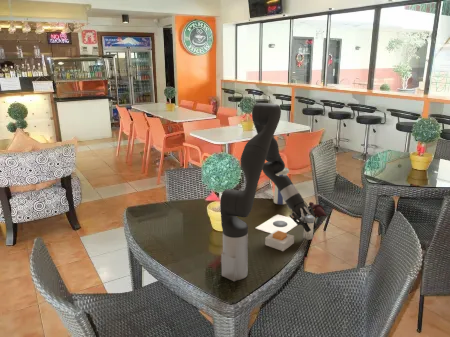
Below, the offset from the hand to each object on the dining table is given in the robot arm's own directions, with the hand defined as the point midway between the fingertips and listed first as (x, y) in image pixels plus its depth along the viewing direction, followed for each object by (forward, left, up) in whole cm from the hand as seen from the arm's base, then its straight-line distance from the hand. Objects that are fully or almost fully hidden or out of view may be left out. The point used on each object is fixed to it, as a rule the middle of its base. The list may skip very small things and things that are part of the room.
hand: (312, 229), depth 166 cm
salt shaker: (0, +2, -5) cm, 5 cm away
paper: (+3, +19, -5) cm, 20 cm away
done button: (-13, +9, -2) cm, 16 cm away
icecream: (+23, +9, -5) cm, 26 cm away
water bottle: (+29, +34, -5) cm, 45 cm away
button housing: (-13, +9, -5) cm, 16 cm away
